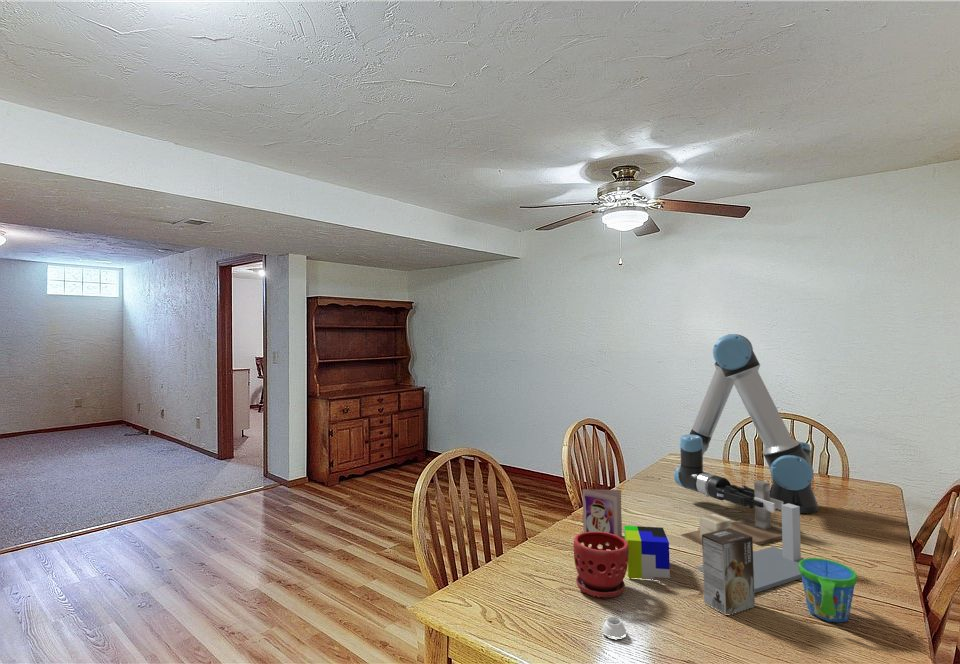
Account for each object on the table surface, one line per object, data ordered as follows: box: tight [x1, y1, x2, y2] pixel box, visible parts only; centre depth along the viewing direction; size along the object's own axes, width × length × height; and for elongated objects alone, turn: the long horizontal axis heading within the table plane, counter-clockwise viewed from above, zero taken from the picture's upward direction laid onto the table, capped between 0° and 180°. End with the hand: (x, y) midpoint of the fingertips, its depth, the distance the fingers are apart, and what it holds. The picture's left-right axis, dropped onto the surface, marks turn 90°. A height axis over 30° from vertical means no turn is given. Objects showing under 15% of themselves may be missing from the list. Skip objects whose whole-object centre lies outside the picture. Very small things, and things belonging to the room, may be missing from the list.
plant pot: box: [573, 532, 629, 598], centre depth 124 cm, size 13×13×12 cm
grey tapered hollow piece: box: [601, 616, 627, 637], centre depth 105 cm, size 5×3×5 cm
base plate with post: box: [695, 503, 805, 594], centre depth 131 cm, size 30×14×15 cm, turn 114°
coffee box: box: [701, 528, 756, 615], centre depth 115 cm, size 9×6×16 cm
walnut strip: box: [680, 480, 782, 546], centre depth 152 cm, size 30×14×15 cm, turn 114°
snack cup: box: [799, 557, 858, 623], centre depth 110 cm, size 16×10×10 cm
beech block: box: [699, 513, 732, 538], centre depth 149 cm, size 6×6×6 cm
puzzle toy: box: [624, 525, 671, 580], centre depth 132 cm, size 10×10×10 cm
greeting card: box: [582, 488, 623, 537], centre depth 152 cm, size 11×7×15 cm, turn 47°
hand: (778, 507), depth 153 cm, fingers closed on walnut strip, 3 cm apart
